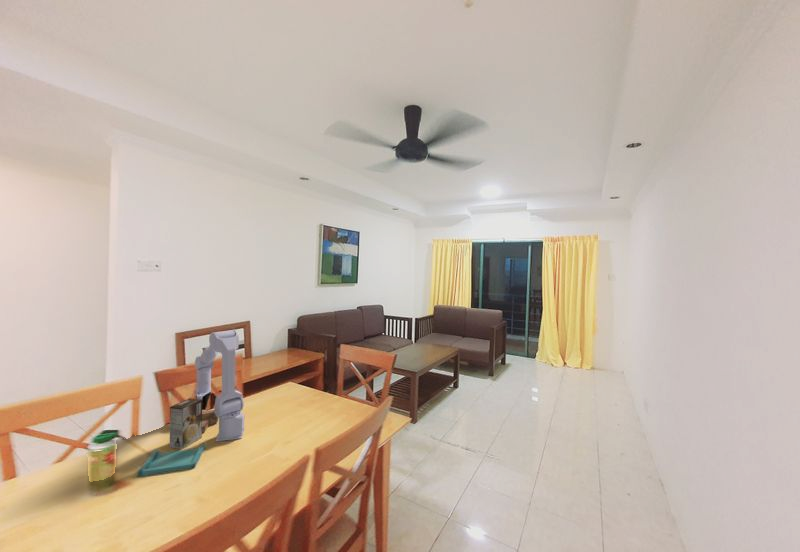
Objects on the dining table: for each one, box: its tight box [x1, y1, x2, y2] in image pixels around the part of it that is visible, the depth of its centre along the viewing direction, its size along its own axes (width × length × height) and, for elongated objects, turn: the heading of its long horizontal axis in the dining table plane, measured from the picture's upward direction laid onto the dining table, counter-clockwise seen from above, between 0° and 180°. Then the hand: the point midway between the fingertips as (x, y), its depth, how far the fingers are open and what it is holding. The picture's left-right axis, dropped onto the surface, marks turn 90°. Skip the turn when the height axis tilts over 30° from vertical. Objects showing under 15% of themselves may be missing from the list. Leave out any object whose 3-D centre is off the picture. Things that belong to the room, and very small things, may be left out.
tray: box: [137, 443, 206, 477], centre depth 111 cm, size 16×13×2 cm
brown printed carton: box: [202, 409, 219, 433], centre depth 134 cm, size 16×10×5 cm, turn 109°
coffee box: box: [169, 397, 203, 450], centre depth 123 cm, size 9×6×16 cm
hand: (203, 409), depth 146 cm, fingers closed
